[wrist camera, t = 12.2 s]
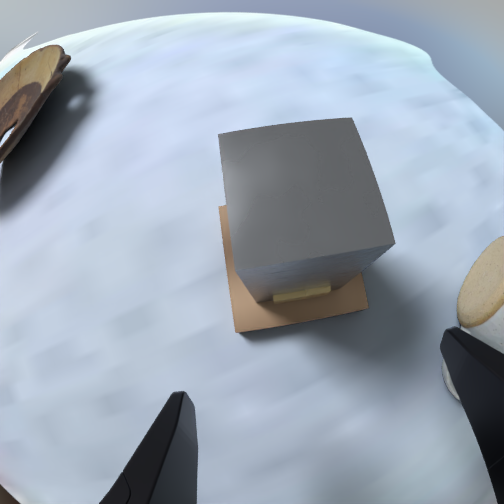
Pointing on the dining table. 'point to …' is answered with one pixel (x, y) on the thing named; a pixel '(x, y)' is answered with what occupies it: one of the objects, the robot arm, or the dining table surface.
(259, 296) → the grey cardboard box
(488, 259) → the ceramic mug
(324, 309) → the post base
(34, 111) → the oil lamp
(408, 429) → the dining table surface
